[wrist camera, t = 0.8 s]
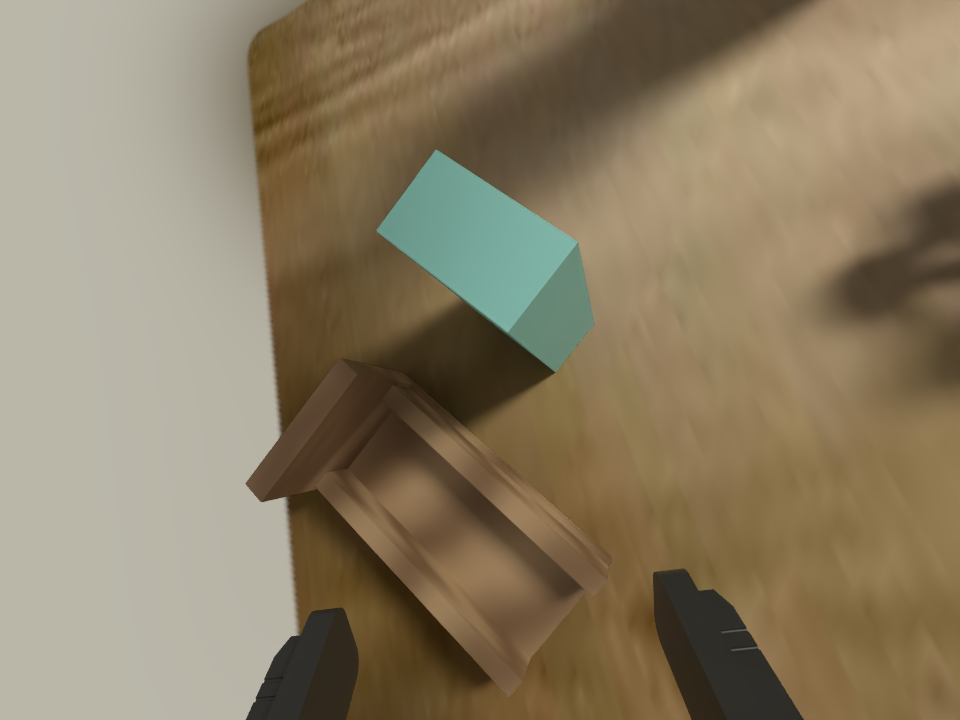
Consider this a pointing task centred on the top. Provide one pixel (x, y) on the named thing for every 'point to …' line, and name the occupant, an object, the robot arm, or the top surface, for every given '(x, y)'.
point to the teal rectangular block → (494, 257)
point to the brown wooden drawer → (438, 513)
